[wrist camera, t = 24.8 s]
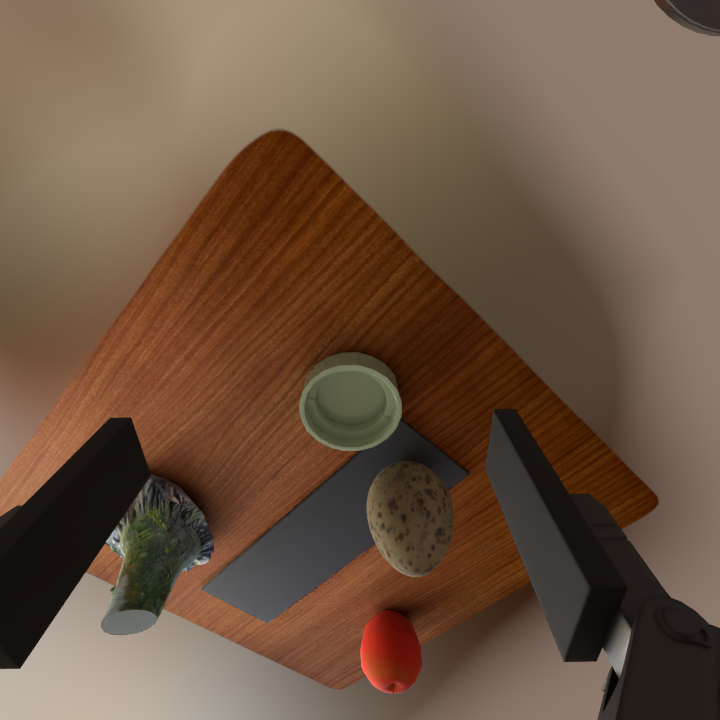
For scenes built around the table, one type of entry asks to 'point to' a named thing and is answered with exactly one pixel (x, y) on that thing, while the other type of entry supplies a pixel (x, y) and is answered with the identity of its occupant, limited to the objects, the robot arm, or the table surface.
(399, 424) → the mat
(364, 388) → the bowl
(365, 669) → the apple
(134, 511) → the tree stump
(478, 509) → the table surface
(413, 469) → the decorative egg
